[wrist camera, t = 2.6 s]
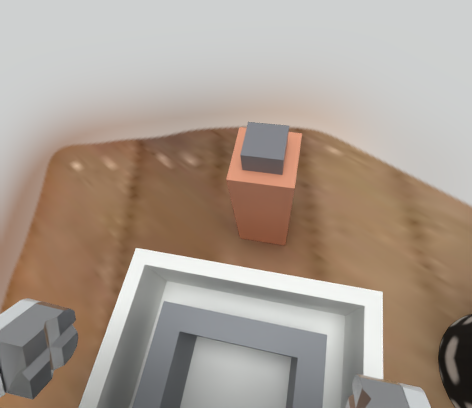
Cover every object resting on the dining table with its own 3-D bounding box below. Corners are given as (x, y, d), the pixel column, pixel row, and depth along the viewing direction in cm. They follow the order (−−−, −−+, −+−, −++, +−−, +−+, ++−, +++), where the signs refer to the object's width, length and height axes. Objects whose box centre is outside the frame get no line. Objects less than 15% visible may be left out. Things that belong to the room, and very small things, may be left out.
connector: (285, 245, 26) (296, 174, 16) (239, 238, 27) (223, 165, 16) (290, 204, 28) (304, 116, 18) (248, 198, 28) (237, 110, 18)
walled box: (347, 606, 17) (385, 726, 11) (87, 514, 19) (18, 575, 14) (355, 306, 23) (382, 291, 18) (163, 270, 26) (136, 247, 21)
